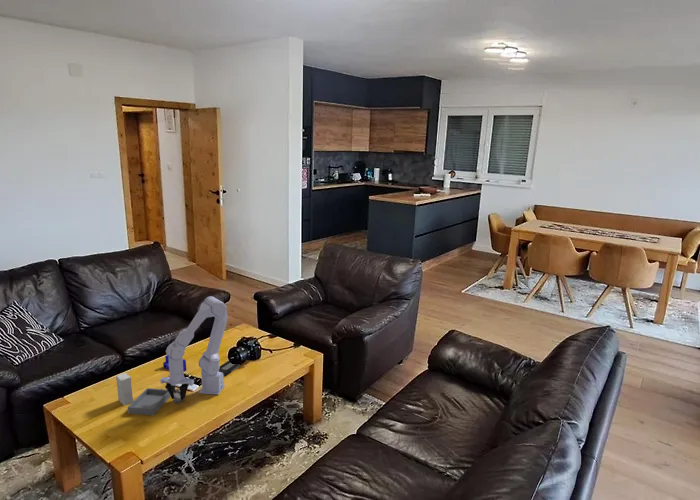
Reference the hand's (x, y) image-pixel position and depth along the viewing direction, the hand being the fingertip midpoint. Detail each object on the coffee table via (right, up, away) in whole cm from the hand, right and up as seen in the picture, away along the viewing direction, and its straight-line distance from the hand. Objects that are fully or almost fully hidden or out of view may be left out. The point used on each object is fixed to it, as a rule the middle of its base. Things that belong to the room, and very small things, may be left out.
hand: (178, 398), depth 198 cm
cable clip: (-13, +5, +28) cm, 32 cm away
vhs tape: (+14, +4, +30) cm, 33 cm away
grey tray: (-11, -2, -2) cm, 12 cm away
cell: (0, -1, 0) cm, 1 cm away
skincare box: (-23, -1, 0) cm, 23 cm away
